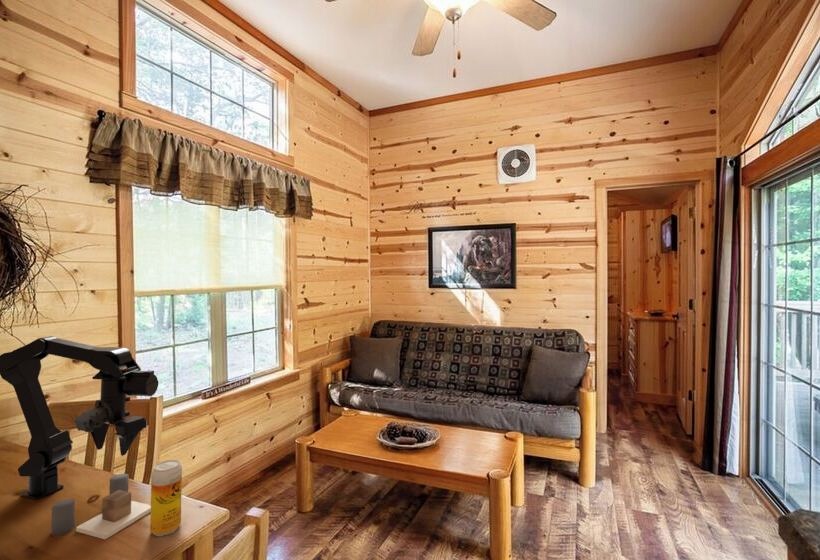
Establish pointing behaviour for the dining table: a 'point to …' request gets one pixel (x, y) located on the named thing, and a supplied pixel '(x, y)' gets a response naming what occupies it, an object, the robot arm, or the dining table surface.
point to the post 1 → (63, 517)
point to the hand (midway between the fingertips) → (111, 452)
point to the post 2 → (119, 483)
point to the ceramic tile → (108, 528)
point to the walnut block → (116, 505)
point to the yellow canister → (166, 497)
